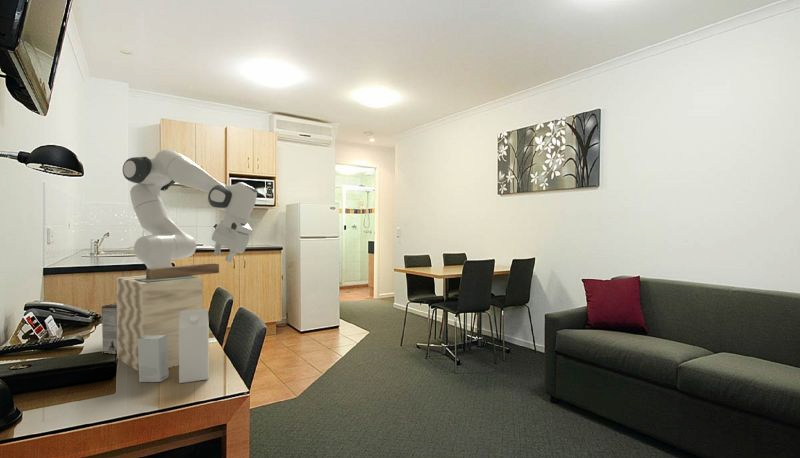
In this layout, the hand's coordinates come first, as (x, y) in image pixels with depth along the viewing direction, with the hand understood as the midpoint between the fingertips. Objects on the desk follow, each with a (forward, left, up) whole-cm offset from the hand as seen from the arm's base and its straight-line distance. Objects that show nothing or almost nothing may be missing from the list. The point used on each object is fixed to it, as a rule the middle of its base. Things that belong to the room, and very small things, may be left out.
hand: (222, 258), depth 160 cm
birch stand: (+11, -27, -30) cm, 42 cm away
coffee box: (-9, -31, -30) cm, 44 cm away
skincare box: (+29, -35, -30) cm, 55 cm away
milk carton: (+36, -27, -30) cm, 54 cm away
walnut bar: (+15, -21, -4) cm, 26 cm away
